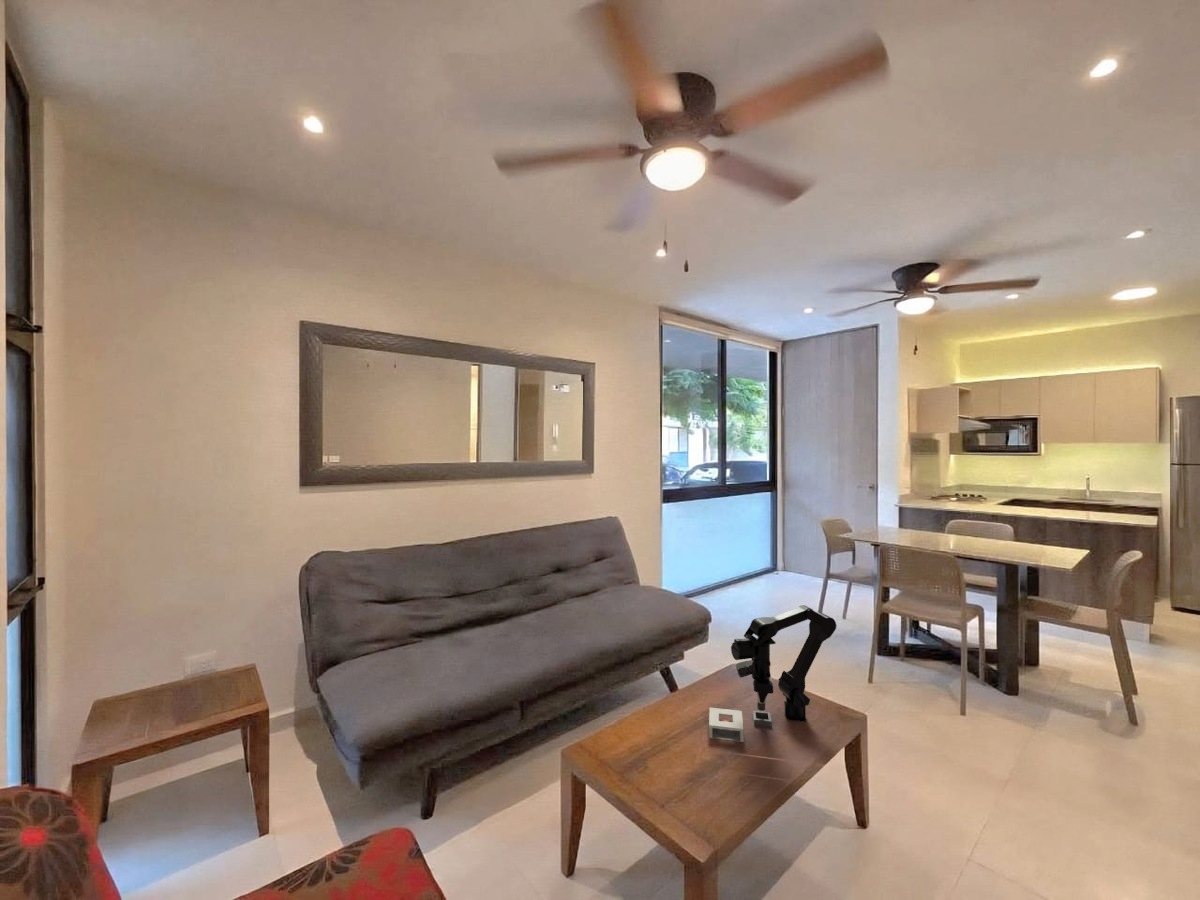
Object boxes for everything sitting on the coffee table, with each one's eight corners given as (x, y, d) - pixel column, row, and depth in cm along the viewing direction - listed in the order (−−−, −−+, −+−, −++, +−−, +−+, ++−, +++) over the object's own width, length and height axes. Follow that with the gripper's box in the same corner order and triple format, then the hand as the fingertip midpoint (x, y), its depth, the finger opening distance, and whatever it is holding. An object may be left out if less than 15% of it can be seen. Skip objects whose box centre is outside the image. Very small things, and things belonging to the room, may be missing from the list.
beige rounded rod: (765, 707, 175) (765, 686, 175) (765, 711, 173) (765, 690, 172) (756, 706, 176) (756, 685, 176) (757, 710, 173) (757, 689, 173)
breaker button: (730, 724, 170) (730, 719, 170) (730, 729, 167) (730, 723, 167) (721, 723, 171) (721, 718, 171) (721, 728, 168) (721, 722, 168)
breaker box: (741, 724, 173) (741, 710, 173) (743, 743, 163) (743, 729, 162) (709, 720, 176) (709, 707, 176) (709, 739, 165) (709, 725, 165)
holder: (770, 718, 177) (770, 712, 177) (771, 727, 171) (771, 721, 171) (752, 716, 178) (752, 710, 178) (753, 725, 172) (753, 719, 172)
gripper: (736, 643, 185) (736, 684, 185) (738, 666, 167) (738, 711, 167) (767, 646, 182) (767, 688, 183) (773, 669, 164) (773, 715, 164)
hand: (761, 700), depth 174 cm, fingers closed on beige rounded rod, 3 cm apart
